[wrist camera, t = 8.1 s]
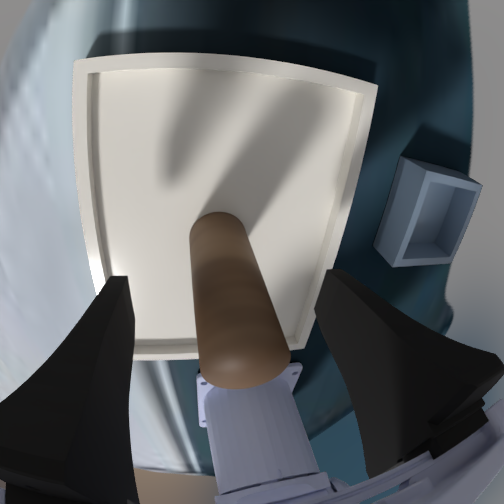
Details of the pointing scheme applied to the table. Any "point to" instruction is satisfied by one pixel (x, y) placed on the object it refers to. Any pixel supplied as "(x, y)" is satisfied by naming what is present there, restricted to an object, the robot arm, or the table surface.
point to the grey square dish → (425, 214)
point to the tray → (214, 177)
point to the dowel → (233, 307)
